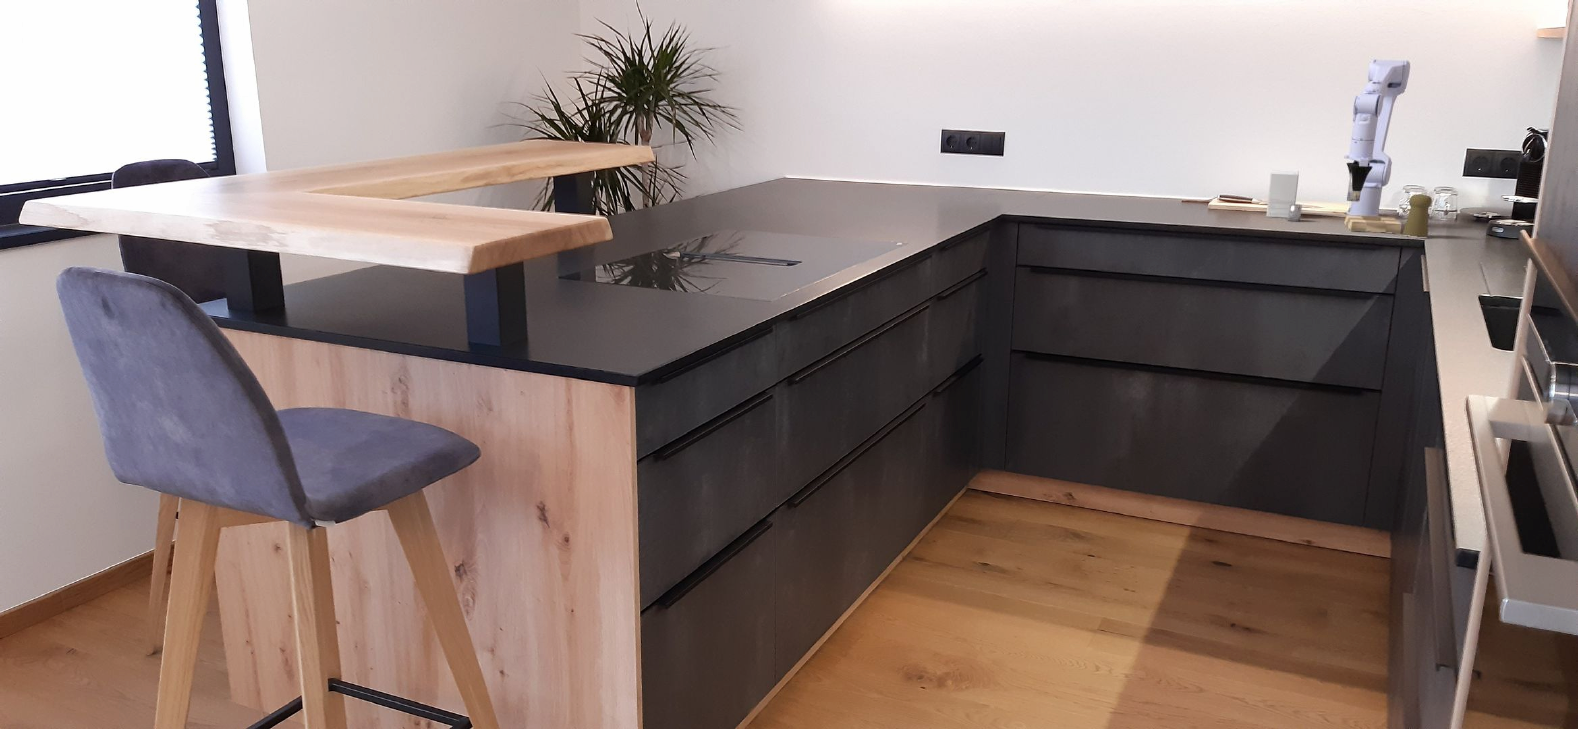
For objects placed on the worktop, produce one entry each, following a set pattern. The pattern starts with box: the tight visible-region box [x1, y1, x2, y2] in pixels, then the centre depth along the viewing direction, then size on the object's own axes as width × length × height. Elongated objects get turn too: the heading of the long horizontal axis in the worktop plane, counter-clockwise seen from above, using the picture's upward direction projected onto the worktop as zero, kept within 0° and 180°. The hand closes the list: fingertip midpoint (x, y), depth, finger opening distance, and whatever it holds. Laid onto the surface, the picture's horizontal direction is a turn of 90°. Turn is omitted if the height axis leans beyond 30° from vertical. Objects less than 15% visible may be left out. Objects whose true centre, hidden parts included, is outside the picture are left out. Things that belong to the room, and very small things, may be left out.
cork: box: [1402, 193, 1433, 238], centre depth 306 cm, size 6×6×11 cm
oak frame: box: [1344, 214, 1402, 234], centre depth 318 cm, size 12×12×3 cm
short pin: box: [1287, 203, 1303, 223], centre depth 330 cm, size 3×3×4 cm
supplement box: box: [1266, 169, 1300, 219], centre depth 337 cm, size 7×7×13 cm
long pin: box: [1346, 173, 1361, 202], centre depth 319 cm, size 3×3×8 cm
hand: (1355, 190), depth 320 cm, fingers closed on long pin, 3 cm apart
